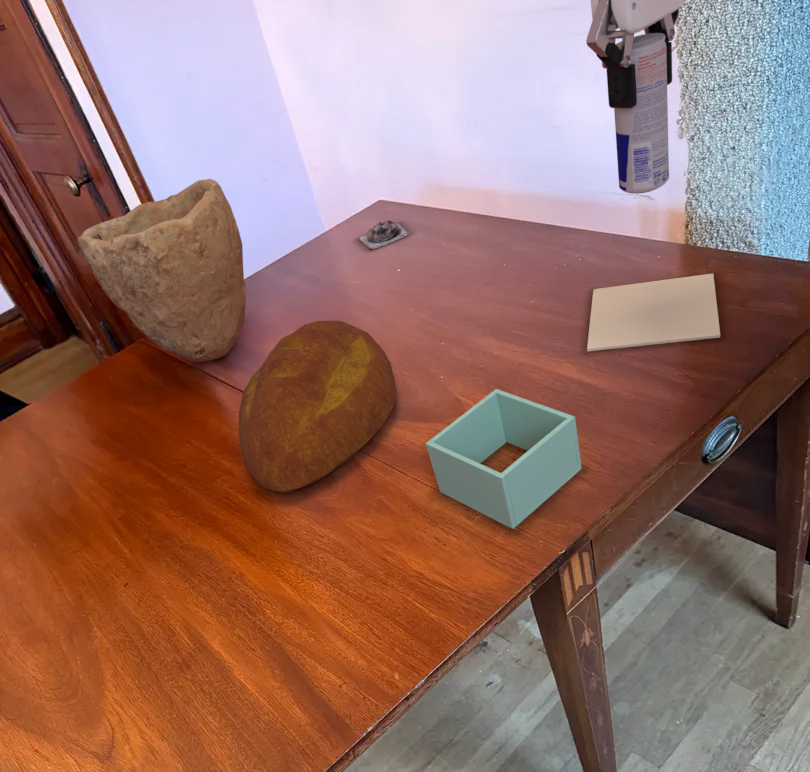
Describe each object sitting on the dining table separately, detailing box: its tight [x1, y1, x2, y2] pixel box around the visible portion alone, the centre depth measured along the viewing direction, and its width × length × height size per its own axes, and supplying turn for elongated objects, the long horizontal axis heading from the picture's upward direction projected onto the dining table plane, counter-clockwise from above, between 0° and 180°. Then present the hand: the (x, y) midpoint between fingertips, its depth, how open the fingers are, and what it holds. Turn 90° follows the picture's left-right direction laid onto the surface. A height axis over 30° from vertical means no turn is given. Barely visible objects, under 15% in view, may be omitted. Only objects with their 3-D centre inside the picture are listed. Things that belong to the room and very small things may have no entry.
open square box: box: [425, 388, 582, 530], centre depth 80 cm, size 11×11×7 cm
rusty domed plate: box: [358, 220, 410, 250], centre depth 143 cm, size 8×8×2 cm
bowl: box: [77, 178, 247, 364], centre depth 117 cm, size 22×22×25 cm
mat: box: [586, 272, 721, 353], centre depth 100 cm, size 16×16×1 cm
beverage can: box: [613, 33, 670, 195], centre depth 83 cm, size 6×6×15 cm
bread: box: [238, 320, 398, 494], centre depth 97 cm, size 21×33×12 cm, turn 163°
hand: (640, 93), depth 82 cm, fingers closed on beverage can, 5 cm apart
